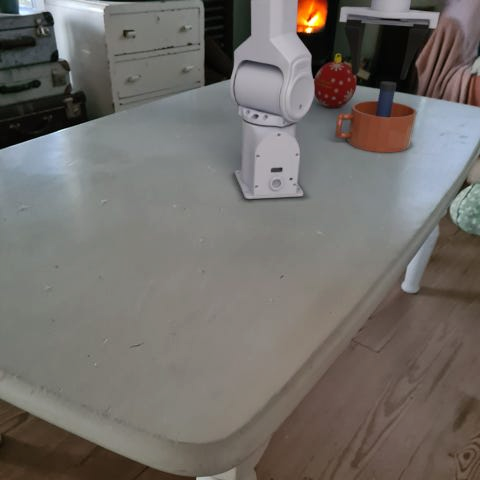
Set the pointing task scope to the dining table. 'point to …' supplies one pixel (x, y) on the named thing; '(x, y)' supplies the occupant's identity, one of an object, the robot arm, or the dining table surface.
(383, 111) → the glue stick
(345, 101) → the christmas ornament
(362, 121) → the mug
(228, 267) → the dining table surface
